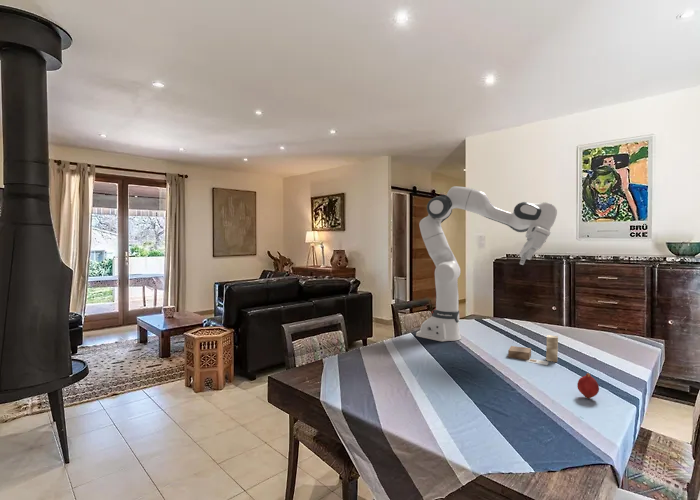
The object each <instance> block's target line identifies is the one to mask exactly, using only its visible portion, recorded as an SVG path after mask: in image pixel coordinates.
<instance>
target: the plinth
mask: <svg viewBox="0 0 700 500" xmlns="http://www.w3.org/2000/svg"><path fill="white" fill-rule="evenodd" d="M531 357H532V348H531V347H525V346H524V347H523V346H516V345H515V346H514V345H511V346H510V347H509V348H508V358H511V359H519V360H525V361H526V360H529V359H531Z"/></svg>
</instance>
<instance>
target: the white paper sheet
mask: <svg viewBox="0 0 700 500" xmlns="http://www.w3.org/2000/svg"><path fill="white" fill-rule="evenodd" d="M525 362H526V363H530V362H531V364H536V363H537V364H538V365H544V366H548V365H549V361H546V360H540V359H535V358H530V359H529V360H525Z"/></svg>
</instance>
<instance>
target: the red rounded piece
mask: <svg viewBox="0 0 700 500" xmlns="http://www.w3.org/2000/svg"><path fill="white" fill-rule="evenodd" d="M591 375H592V374H590V373H586V374H585V375H584V376H581V377H580V378H579V379H578V381H577V385H576V386H577V390H578V391H579V392H580V393H581V394H582V395H583V397H584V398H586V399H591V398H594V397H596V396H597V395H598V394H599V392H600V386H599V383H598V382H597V380H596V378H594V377H593V376H591Z"/></svg>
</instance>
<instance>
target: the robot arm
mask: <svg viewBox="0 0 700 500" xmlns="http://www.w3.org/2000/svg"><path fill="white" fill-rule="evenodd" d="M453 209H460V210H464V211H467V212H470V213H474V214H477V215H479V216H481V217H484V218H486V219H488V220H491V221H495V222H497V223H500V224H502V225H505V226H507V227H508V228H510V229H512V230H513V231H515V232H518V233H525V232H526V233H525V238H526V242H524V245H523V246H522V249H521V251H520V253H519V257H520V261H519V265H522V266H524V265H525V262H526V260H529V261H531V260H532V259H533V256H534V254H535V253H536V252H537V251H538V250H539V251H540V249H541V248H542V246H544V243H546V241H547V240H548V237H550V235H551V229H552V227H553V226H554V223H555V221H556V218H557V215H558V209H557V207H556V206H555V205H553V204H552V203H550V202H546V201H545V202H540V203H532V202H528V201H522V202H519V203H517V204H516V205H515V207H514V208H513V212H509V211H506V210H503V209H500V208H498V207H496V206H494V205H493V204H492V203H491V200H490V198H489V197H488V195H487V194H486V193H485V192H484V191H481V190H480V189H475V188H472V187H471V188H470V187H466V186H456V185H454V186H451V187H450V188H449V190H448V191H447V194H443V195H439V196H438V195H437V196H434V197H433V198H431V199H430V200H429V201H428V203H427V205H426V211H427V214H428V215H427V216H425V217H423V218H422V219H420V221H419V223H418V225H419V230H420V234H421V237H422V241H423V243H424V246H425V248H426V251H427V253H428V255H429V257H430V258H431V260H432V262H433V263H434V266H435V269H434V284H435V293H436V296H435V297H436V298H435V301H436V303H435V308H434V309H433V310H431V316H430V317H428V318H427V319H425V321H423V322H422V324H420V330H418V331H416V333H415V336H416V337H419V338H423V339H428V340H431V341H432V340H433V341H438V342H450V341H451V342H454V341H460V340H461V339H462V336H461V332H460V326H459V322H460V310H459V299H460V298H459V296H460V295H459V285H458V284H459V283H458V279H459V277H460V276H461V267H460V265H459V262H458V261H457V258H456V256H455V255H454V252H453V251H452V249H451V247H450V244H449V241H448V239H447V237H446V234H445V232H444V229H443V227H442V224H443V222H444V221H446V220H447V219H448V218H449V217H450V216H451V215H452V213H453Z"/></svg>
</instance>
